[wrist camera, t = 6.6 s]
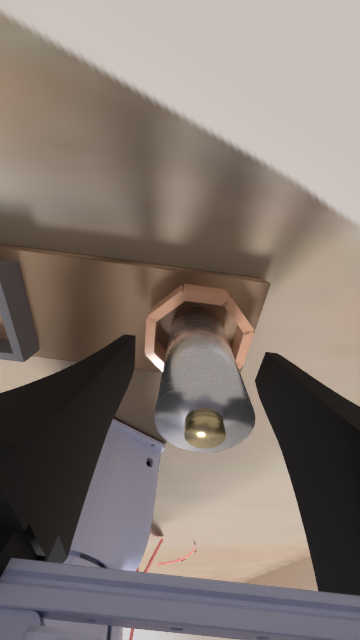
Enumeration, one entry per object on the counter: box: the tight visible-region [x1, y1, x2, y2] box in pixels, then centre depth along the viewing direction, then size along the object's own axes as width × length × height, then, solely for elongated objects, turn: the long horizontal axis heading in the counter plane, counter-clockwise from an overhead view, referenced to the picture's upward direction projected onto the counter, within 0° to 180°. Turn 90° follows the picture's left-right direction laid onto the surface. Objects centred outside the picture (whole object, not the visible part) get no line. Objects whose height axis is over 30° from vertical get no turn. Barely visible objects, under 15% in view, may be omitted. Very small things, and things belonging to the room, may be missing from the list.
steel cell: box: [154, 307, 255, 452], centre depth 10 cm, size 4×4×8 cm
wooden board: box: [0, 244, 270, 374], centre depth 14 cm, size 23×8×2 cm, turn 83°
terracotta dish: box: [145, 284, 254, 372], centre depth 12 cm, size 7×7×2 cm
